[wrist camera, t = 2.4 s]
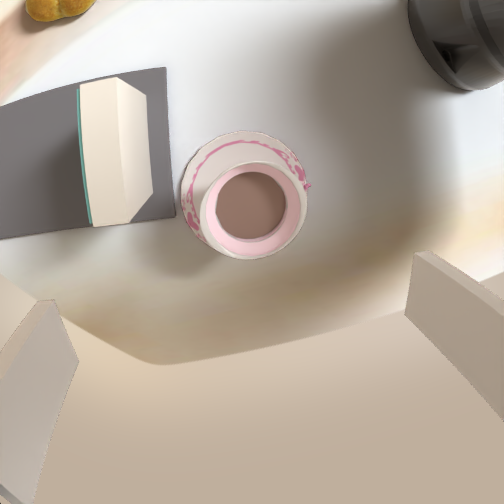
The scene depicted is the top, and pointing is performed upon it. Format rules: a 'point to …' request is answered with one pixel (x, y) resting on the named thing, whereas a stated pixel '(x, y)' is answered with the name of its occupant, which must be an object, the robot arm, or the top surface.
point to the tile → (113, 150)
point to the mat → (70, 158)
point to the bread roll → (56, 8)
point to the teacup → (245, 195)
